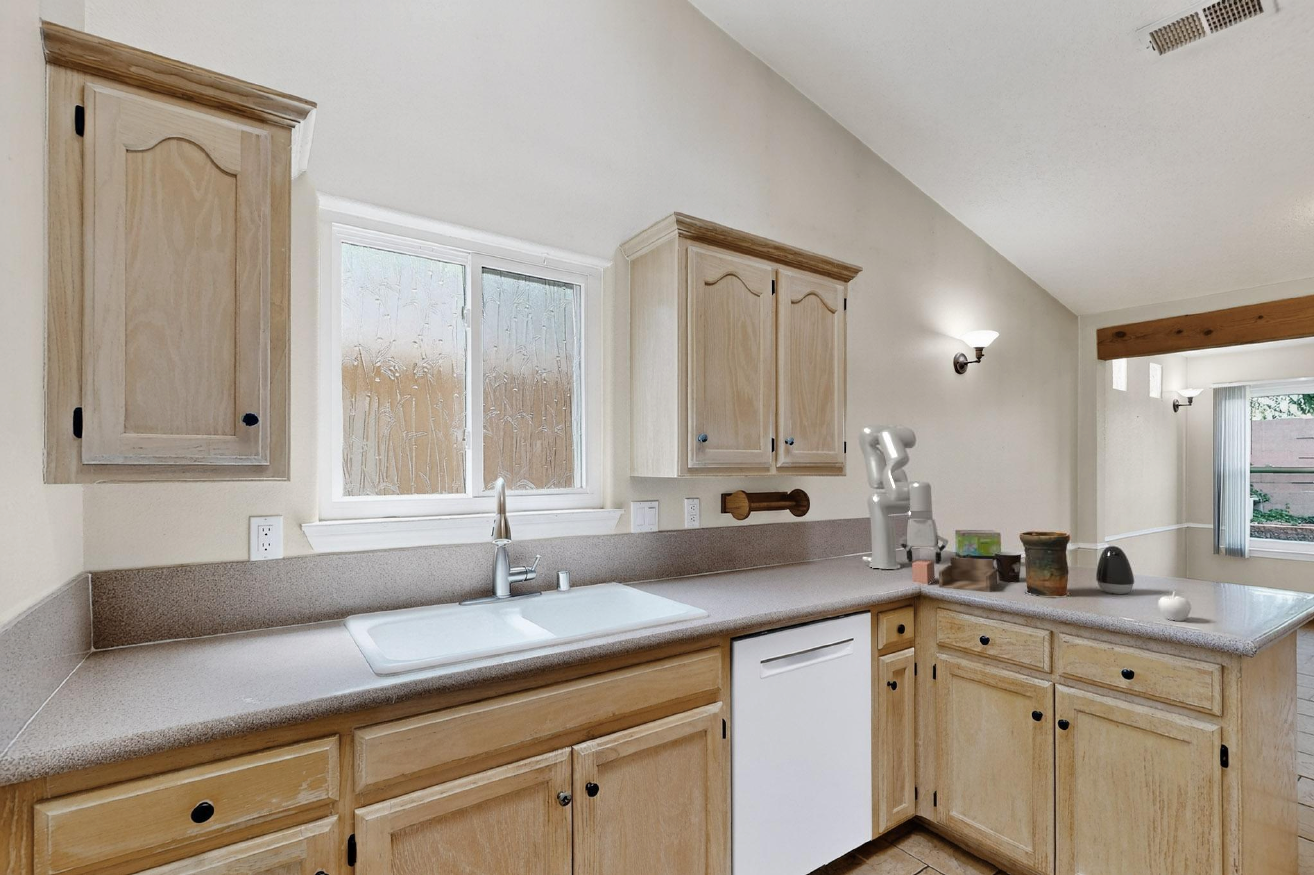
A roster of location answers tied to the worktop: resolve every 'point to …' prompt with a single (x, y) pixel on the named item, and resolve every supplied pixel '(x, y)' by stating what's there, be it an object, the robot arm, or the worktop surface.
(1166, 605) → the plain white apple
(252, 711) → the worktop surface
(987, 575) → the stand
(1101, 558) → the black rounded egg shape
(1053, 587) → the vessel
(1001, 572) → the coffee mug
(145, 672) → the worktop surface
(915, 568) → the salmon pink block
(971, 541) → the tea box
